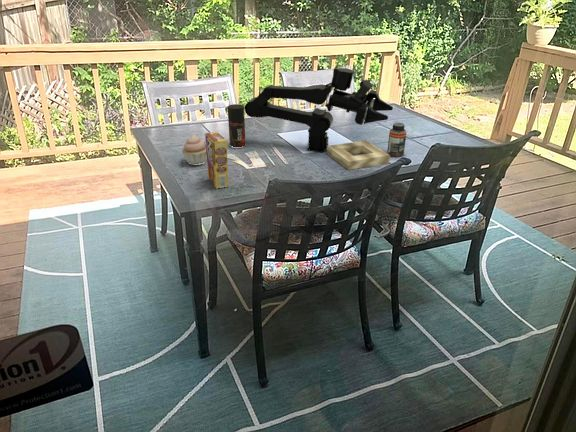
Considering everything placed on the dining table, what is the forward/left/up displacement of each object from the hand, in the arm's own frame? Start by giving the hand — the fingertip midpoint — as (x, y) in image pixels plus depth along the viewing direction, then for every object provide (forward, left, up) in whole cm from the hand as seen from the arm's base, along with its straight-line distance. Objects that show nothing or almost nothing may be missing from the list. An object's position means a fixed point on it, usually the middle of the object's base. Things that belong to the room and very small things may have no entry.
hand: (390, 113), depth 158 cm
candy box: (-45, -41, -16) cm, 63 cm away
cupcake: (-60, -29, -16) cm, 69 cm away
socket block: (-9, -5, -16) cm, 19 cm away
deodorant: (-54, -9, -16) cm, 57 cm away
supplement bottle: (+3, +4, -16) cm, 17 cm away
